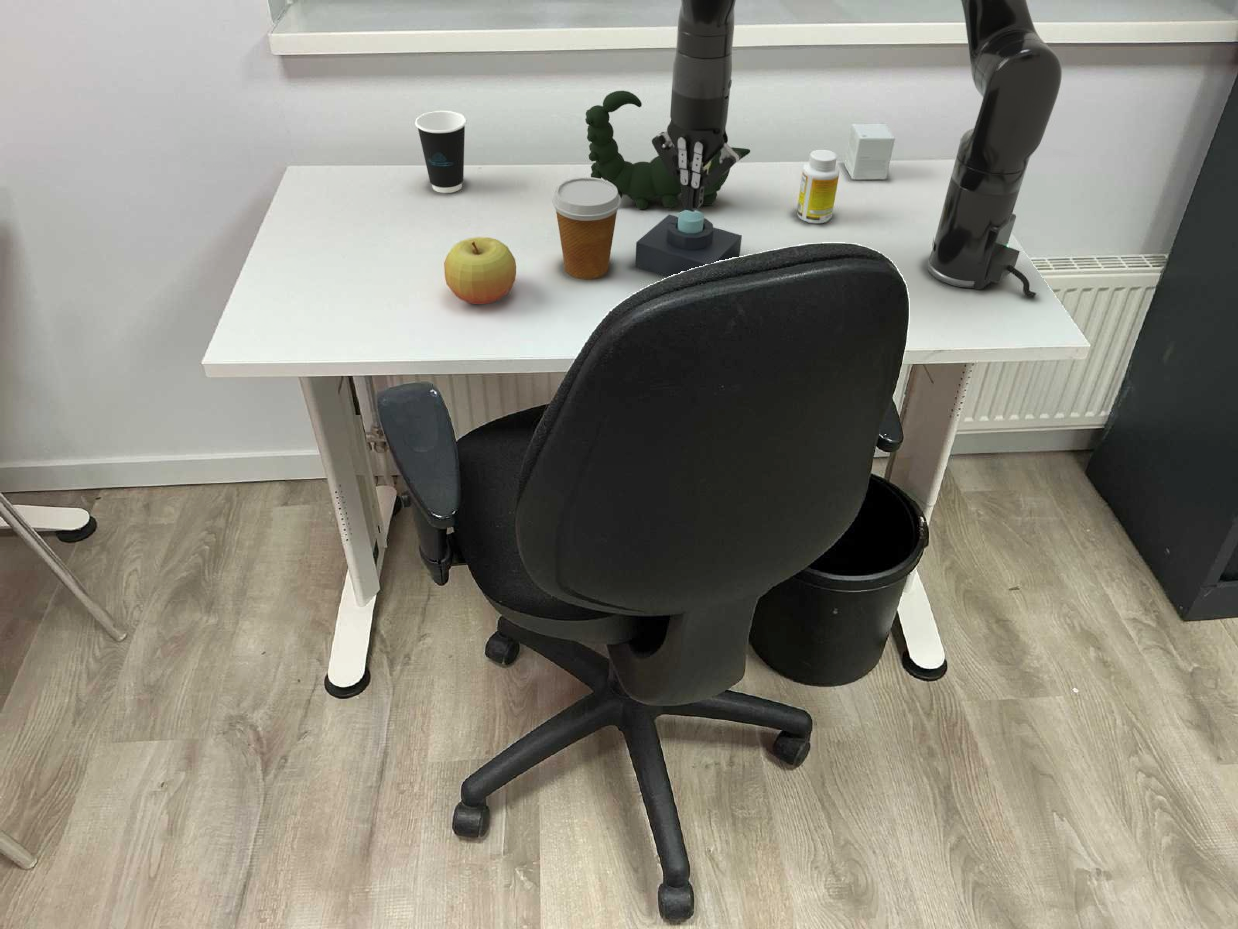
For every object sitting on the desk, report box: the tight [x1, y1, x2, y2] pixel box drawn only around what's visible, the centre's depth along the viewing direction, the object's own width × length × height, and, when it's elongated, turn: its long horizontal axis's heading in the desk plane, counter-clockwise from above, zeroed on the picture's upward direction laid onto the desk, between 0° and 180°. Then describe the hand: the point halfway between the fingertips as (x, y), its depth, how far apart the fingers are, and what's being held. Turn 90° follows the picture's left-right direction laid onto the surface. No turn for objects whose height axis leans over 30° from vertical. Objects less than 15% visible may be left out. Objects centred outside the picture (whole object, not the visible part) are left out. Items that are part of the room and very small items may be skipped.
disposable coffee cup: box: [551, 176, 622, 280], centre depth 140 cm, size 10×10×12 cm
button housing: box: [634, 213, 743, 278], centre depth 143 cm, size 12×10×6 cm
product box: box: [844, 123, 896, 181], centre depth 167 cm, size 6×6×7 cm
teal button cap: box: [677, 209, 705, 233], centre depth 141 cm, size 4×4×2 cm
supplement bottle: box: [796, 149, 840, 224], centre depth 154 cm, size 6×6×10 cm
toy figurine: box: [585, 90, 751, 210], centre depth 154 cm, size 9×19×25 cm
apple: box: [443, 236, 517, 305], centre depth 135 cm, size 10×10×8 cm
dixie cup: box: [414, 110, 467, 194], centre depth 158 cm, size 8×8×11 cm
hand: (691, 208), depth 140 cm, fingers closed
